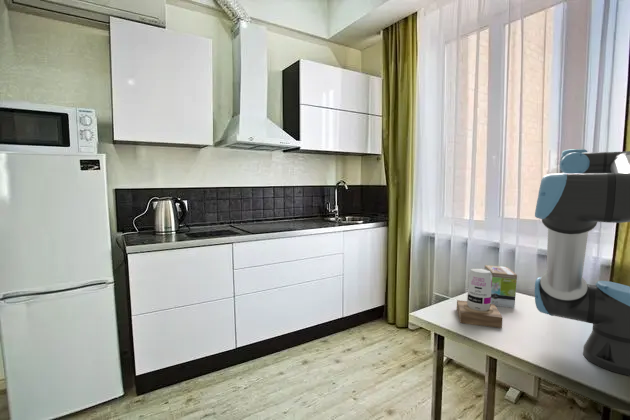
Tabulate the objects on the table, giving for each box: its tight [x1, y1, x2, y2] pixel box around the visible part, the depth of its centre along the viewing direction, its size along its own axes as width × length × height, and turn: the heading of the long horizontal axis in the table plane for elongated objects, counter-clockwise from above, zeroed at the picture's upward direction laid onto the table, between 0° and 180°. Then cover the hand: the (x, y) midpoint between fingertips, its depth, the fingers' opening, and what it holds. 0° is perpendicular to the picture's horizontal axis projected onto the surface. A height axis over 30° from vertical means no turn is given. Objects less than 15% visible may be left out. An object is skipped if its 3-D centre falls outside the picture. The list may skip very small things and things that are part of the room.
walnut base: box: [456, 299, 504, 329], centre depth 129 cm, size 14×14×4 cm
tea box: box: [483, 264, 518, 309], centre depth 147 cm, size 15×10×15 cm
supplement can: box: [466, 267, 492, 311], centre depth 128 cm, size 8×8×15 cm
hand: (566, 250), depth 121 cm, fingers open, 13 cm apart
